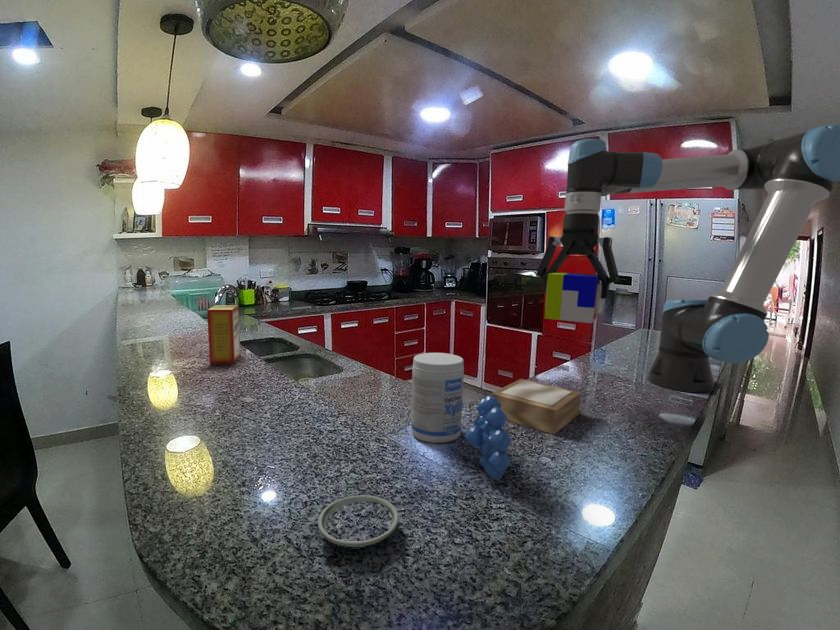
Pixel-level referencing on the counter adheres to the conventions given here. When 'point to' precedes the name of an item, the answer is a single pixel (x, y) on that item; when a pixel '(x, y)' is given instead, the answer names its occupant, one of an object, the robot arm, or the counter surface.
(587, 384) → the counter surface
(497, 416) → the grapes
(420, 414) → the supplement tub
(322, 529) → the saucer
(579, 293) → the puzzle toy
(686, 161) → the robot arm
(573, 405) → the oak picture frame
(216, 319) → the baking soda box
